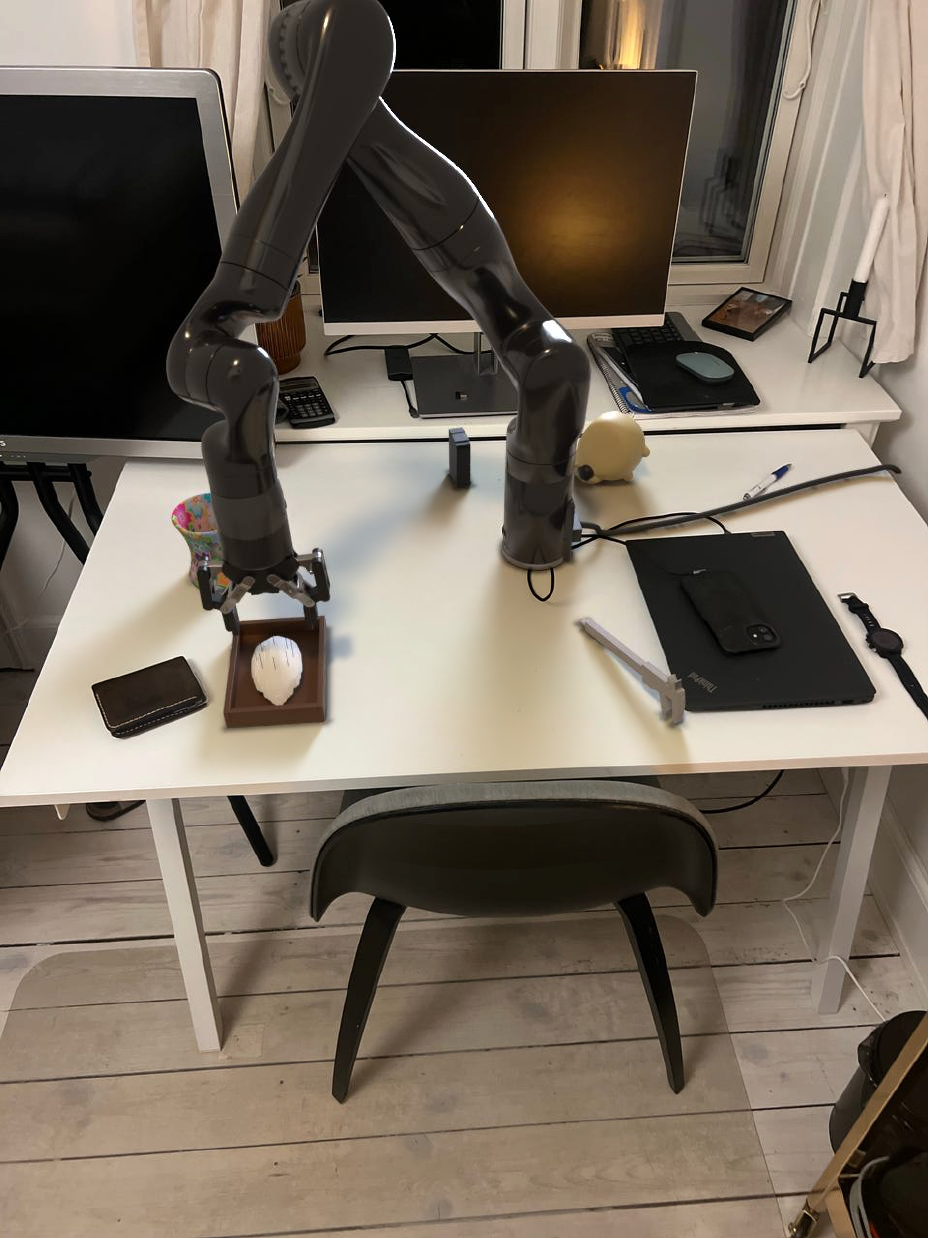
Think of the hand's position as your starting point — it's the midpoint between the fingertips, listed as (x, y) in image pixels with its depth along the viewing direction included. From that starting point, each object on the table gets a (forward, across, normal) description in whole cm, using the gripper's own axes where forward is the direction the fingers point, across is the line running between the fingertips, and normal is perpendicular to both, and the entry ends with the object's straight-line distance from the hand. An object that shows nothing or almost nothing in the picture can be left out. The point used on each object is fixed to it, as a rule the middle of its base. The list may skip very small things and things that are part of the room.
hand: (273, 628), depth 113 cm
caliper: (+9, +42, -3) cm, 43 cm away
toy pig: (+9, +49, +40) cm, 64 cm away
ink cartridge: (+9, +26, +41) cm, 49 cm away
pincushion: (+8, -1, 0) cm, 8 cm away
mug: (+8, -9, +22) cm, 26 cm away
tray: (+8, 0, 0) cm, 8 cm away
